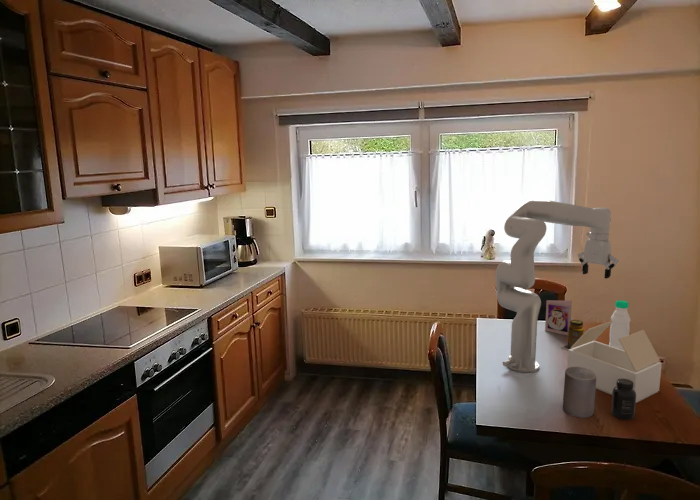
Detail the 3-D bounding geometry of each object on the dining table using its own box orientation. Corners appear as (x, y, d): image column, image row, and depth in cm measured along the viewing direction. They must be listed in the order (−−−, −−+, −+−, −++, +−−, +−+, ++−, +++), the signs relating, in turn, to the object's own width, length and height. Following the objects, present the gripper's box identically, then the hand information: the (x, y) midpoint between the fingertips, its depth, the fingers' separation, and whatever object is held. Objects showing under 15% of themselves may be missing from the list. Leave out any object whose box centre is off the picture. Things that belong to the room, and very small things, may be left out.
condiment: (586, 347, 226) (587, 321, 224) (577, 353, 220) (579, 326, 218) (569, 343, 231) (571, 317, 229) (561, 348, 225) (562, 322, 223)
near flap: (634, 371, 176) (636, 370, 175) (618, 339, 179) (619, 338, 179) (658, 360, 183) (659, 360, 183) (642, 329, 187) (643, 329, 186)
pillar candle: (557, 404, 178) (559, 363, 175) (584, 402, 179) (587, 362, 176) (571, 419, 169) (574, 376, 166) (600, 417, 169) (603, 374, 166)
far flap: (589, 329, 188) (588, 328, 189) (571, 348, 196) (570, 347, 196) (613, 321, 196) (612, 320, 196) (595, 339, 203) (594, 338, 204)
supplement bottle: (636, 414, 170) (640, 380, 168) (631, 423, 165) (634, 388, 163) (614, 408, 175) (617, 374, 172) (608, 416, 170) (610, 382, 167)
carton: (633, 404, 177) (636, 374, 175) (566, 376, 198) (568, 349, 196) (658, 391, 185) (661, 362, 183) (592, 366, 207) (593, 340, 205)
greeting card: (544, 331, 246) (545, 300, 243) (549, 326, 252) (551, 297, 249) (569, 336, 239) (571, 305, 236) (574, 331, 244) (576, 301, 241)
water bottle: (608, 355, 217) (612, 297, 212) (627, 358, 213) (632, 300, 208) (606, 361, 211) (611, 302, 206) (626, 364, 208) (631, 305, 203)
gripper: (574, 235, 225) (572, 273, 228) (614, 240, 211) (611, 281, 215) (584, 233, 229) (581, 270, 233) (623, 238, 216) (620, 278, 219)
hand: (595, 275), depth 224 cm, fingers open, 9 cm apart
